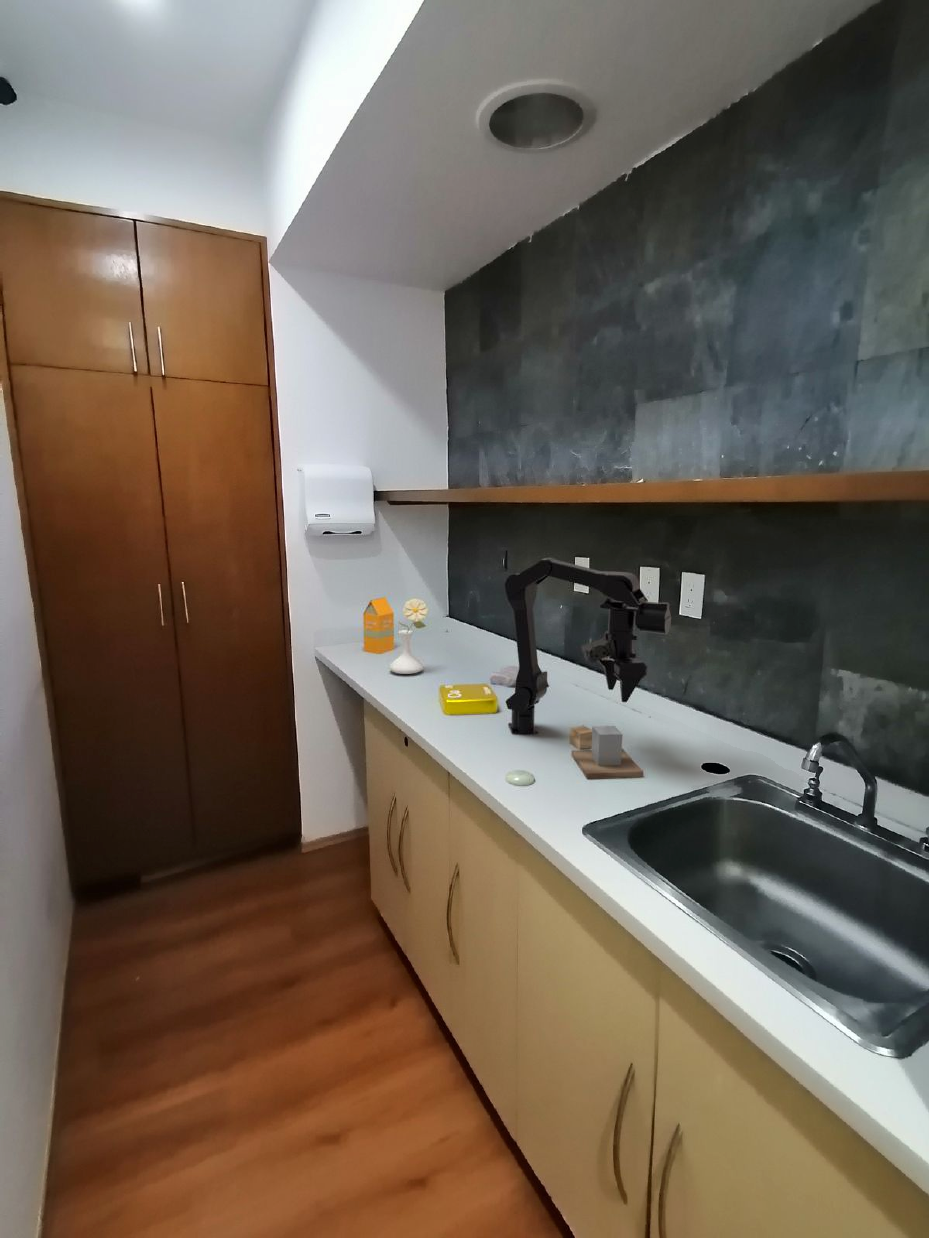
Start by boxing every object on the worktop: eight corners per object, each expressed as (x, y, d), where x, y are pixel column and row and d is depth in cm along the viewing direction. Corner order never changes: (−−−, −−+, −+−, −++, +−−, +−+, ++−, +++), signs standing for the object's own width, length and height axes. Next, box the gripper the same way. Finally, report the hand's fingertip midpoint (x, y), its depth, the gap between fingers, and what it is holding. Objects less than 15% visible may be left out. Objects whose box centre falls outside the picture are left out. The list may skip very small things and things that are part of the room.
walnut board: (571, 755, 142) (571, 750, 141) (622, 753, 143) (623, 748, 143) (586, 778, 130) (587, 773, 130) (642, 776, 131) (642, 771, 131)
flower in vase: (385, 676, 204) (384, 600, 199) (393, 666, 215) (392, 595, 210) (425, 677, 202) (424, 601, 197) (431, 668, 213) (430, 596, 209)
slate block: (591, 756, 138) (592, 726, 137) (613, 755, 139) (614, 725, 138) (598, 765, 133) (599, 734, 132) (620, 764, 134) (622, 734, 133)
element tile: (498, 714, 170) (499, 697, 169) (444, 716, 167) (444, 699, 166) (488, 697, 184) (488, 681, 183) (438, 699, 182) (438, 683, 181)
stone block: (533, 685, 201) (507, 674, 206) (535, 672, 199) (510, 661, 205) (513, 696, 192) (487, 684, 197) (515, 682, 190) (489, 670, 195)
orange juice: (394, 649, 239) (393, 598, 236) (379, 654, 232) (378, 601, 228) (378, 646, 243) (377, 596, 240) (363, 651, 236) (362, 599, 232)
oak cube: (569, 743, 149) (570, 727, 148) (582, 741, 151) (583, 725, 150) (579, 749, 145) (580, 733, 145) (593, 746, 147) (594, 730, 146)
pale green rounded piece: (503, 775, 132) (503, 770, 132) (530, 774, 133) (531, 769, 133) (507, 787, 126) (507, 783, 126) (536, 786, 127) (537, 782, 127)
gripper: (574, 621, 149) (572, 684, 151) (599, 638, 130) (595, 710, 133) (620, 620, 150) (616, 683, 153) (650, 638, 131) (645, 708, 134)
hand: (617, 695), depth 143 cm, fingers open, 9 cm apart
